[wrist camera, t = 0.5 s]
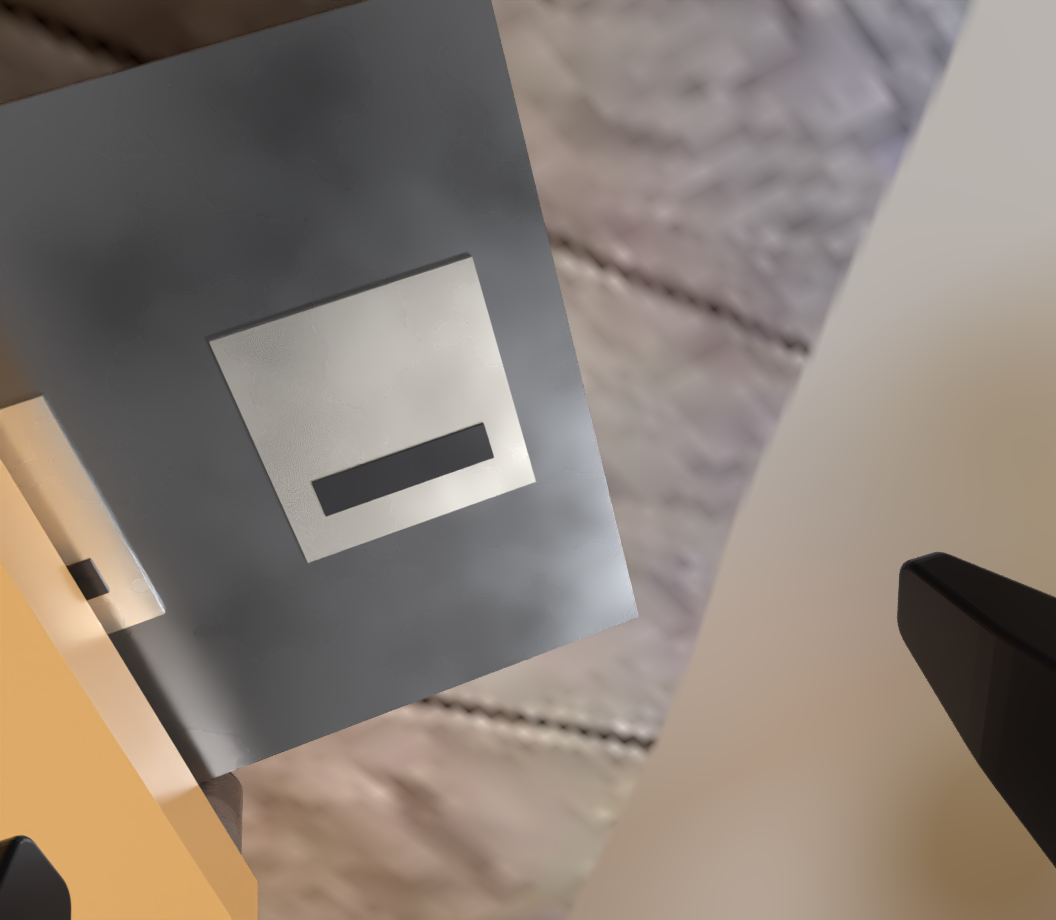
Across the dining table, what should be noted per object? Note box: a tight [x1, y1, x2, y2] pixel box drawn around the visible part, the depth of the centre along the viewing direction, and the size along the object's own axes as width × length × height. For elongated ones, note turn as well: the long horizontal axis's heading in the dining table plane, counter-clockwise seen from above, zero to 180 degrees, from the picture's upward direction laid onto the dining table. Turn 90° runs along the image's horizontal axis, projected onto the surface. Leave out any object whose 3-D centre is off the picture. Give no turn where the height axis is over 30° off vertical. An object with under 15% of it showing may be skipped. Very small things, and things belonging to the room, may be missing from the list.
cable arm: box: [0, 459, 258, 920], centre depth 17 cm, size 17×3×2 cm, turn 13°
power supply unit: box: [0, 0, 639, 854], centre depth 20 cm, size 18×16×3 cm
